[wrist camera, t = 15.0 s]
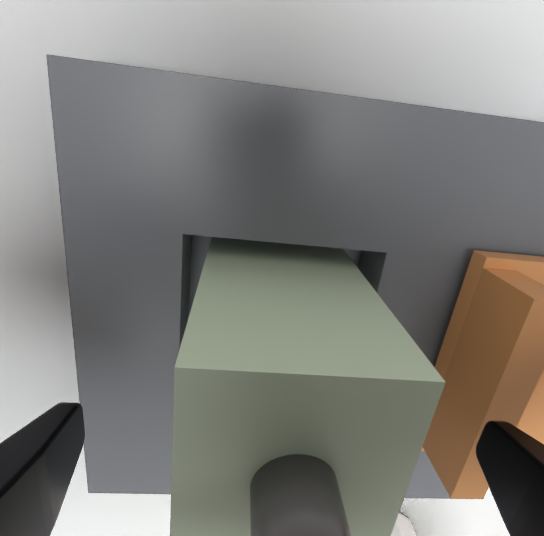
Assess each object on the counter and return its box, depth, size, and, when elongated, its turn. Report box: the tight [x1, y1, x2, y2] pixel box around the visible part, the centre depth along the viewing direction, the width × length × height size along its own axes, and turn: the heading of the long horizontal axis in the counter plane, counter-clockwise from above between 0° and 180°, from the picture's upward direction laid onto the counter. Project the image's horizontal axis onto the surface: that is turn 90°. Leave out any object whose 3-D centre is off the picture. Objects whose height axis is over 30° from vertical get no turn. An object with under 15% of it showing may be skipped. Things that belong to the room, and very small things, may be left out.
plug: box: [170, 237, 445, 536], centre depth 9 cm, size 4×5×9 cm
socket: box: [47, 55, 544, 499], centre depth 13 cm, size 15×14×2 cm
